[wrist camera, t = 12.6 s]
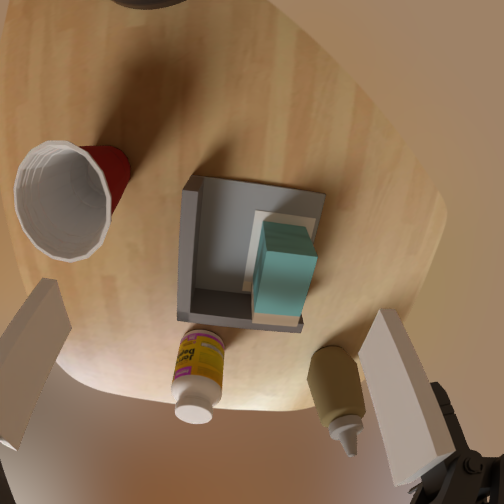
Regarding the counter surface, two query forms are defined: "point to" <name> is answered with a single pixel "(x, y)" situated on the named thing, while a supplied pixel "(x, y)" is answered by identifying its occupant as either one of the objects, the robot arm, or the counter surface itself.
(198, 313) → the corner tray
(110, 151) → the plastic cup
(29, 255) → the counter surface
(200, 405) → the supplement bottle
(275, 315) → the teal block
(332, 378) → the squeeze bottle
